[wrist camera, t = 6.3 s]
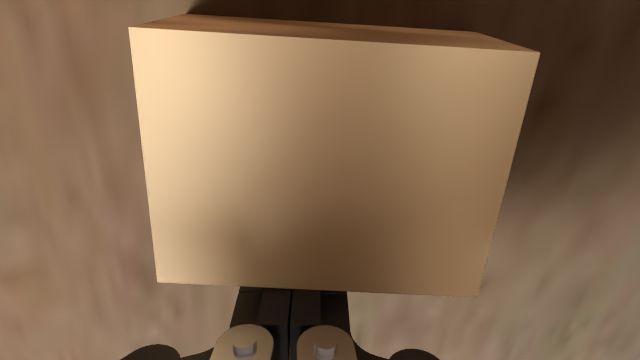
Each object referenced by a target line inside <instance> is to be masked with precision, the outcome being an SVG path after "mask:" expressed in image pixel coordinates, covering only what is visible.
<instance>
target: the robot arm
mask: <svg viewBox="0 0 640 360" xmlns="http://www.w3.org/2000/svg"><path fill="white" fill-rule="evenodd" d="M121 360H439V359H438V358H437V357H435V356H434V355H432V354H430V353H428V352H426V351H423V350H419V349H405V350H401V351H398V352H396V353H395V354H393V355H392V356H391V357H390V359H386V358H382V357H378V356H375V355H372V354H370V353H368V352H366V351H364V350H363V349H361V348H360V347H359V346H358V345H357V344H356V343H355V342H354V340H353V338H352V336H351V332H350V323H349V311H348V300H347V291H329V290H308V289H287V288H267V287H246V286H240V290H239V294H238V297H237V301H236V305H235V309H234V312H233V316H232V320H231V324H230V328H229V329H228V330H227V331H225V332H224V333H223V334H222V335H221V336H220V337H219V338H218V340H217V342H216V345H215V347H213V348H212V349H210V350H207V351H205V352H202V353H199V354H195V355H191V356H187V357H183V358H180V355H179V353H178V352H177V351H176V350H175V349H174V348H172V347H170V346H167V345H161V344H156V345H149V346H145V347H142V348H140V349H137V350H135V351H134V352H132V353H130V354H129V355H127V356H126V357H124V358H122V359H121Z"/></svg>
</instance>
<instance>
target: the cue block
mask: <svg viewBox="0 0 640 360" xmlns="http://www.w3.org/2000/svg"><path fill="white" fill-rule="evenodd" d="M129 36H130V44H131V53H132V62H133V71H134V80H135V88H136V97H137V106H138V115H139V124H140V132H141V141H142V150H143V159H144V168H145V176H146V185H147V194H148V203H149V211H150V220H151V229H152V238H153V247H154V255H155V264H156V273H157V282H163V283H184V284H204V285H225V286H246V287H267V288H287V289H308V290H329V291H350V292H370V293H391V294H412V295H432V296H453V297H474V298H477V297H478V293H479V289H480V285H481V282H482V278H483V274H484V270H485V266H486V262H487V258H488V254H489V250H490V246H491V243H492V239H493V235H494V231H495V227H496V223H497V219H498V215H499V211H500V208H501V204H502V200H503V196H504V192H505V188H506V184H507V180H508V176H509V173H510V169H511V165H512V161H513V157H514V153H515V149H516V145H517V141H518V137H519V134H520V130H521V126H522V122H523V118H524V114H525V110H526V106H527V102H528V99H529V95H530V91H531V87H532V83H533V79H534V75H535V71H536V67H537V64H538V60H539V56H540V52H537V51H534V50H531V49H528V48H525V47H522V46H518V45H515V44H512V43H509V42H506V41H503V40H499V39H496V38H493V37H490V36H487V35H484V34H481V33H477V32H469V31H453V30H437V29H421V28H405V27H389V26H373V25H357V24H341V23H325V22H309V21H293V20H277V19H261V18H245V17H229V16H213V15H197V14H183V15H179V16H174V17H170V18H166V19H161V20H157V21H153V22H148V23H144V24H140V25H135V26H131V27H129Z"/></svg>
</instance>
